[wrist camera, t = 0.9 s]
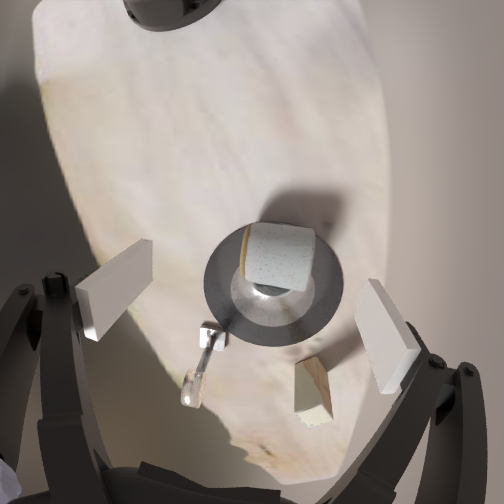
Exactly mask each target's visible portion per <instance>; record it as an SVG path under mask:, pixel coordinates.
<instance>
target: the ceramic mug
mask: <svg viewBox="0 0 504 504" xmlns="http://www.w3.org/2000/svg"><path fill="white" fill-rule="evenodd" d="M314 251H315V232H314V229H313V228H306V227H297V226H289V225H279V224H271V223H251V224H250V225H248V226H247V228H246V230H245V233H244V237H243V241H242V247H241V255H240V274H241V276H242V277H243V278H244V279H246V280H248V281H251V283H252V285H253V287H254V289H255V290H257V291H258V292H259V293H261V294H264V295H266V296H271V297H283V296H286V295H288V294H290V293H291V292H292V291H293V290H296V291H301V292H303V291H305V290H306V289H307V286H308V283H309V280H310V275H311V270H312V264H313V258H314ZM267 285H271V286H276V287H280V288H275V287H271V286H267Z"/></svg>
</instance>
